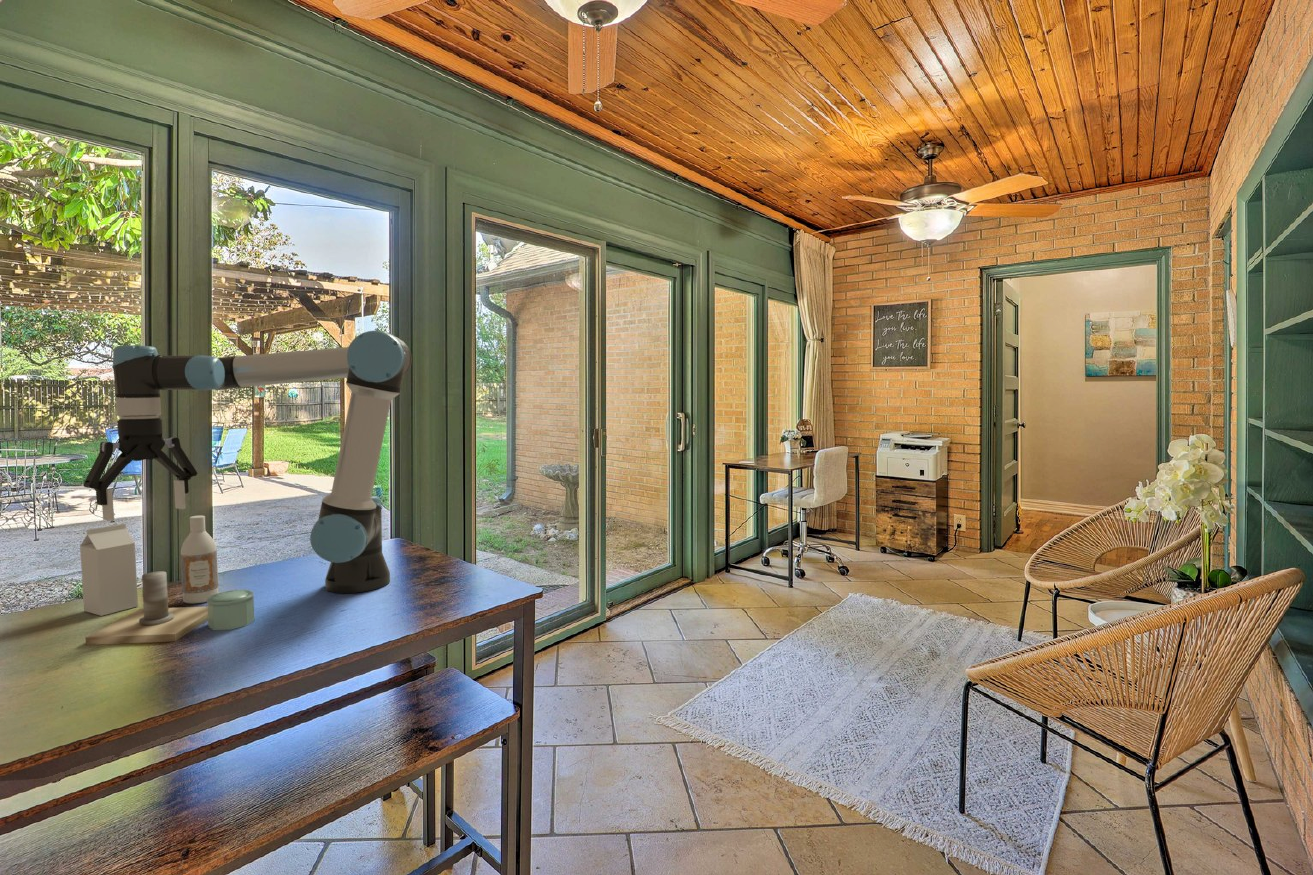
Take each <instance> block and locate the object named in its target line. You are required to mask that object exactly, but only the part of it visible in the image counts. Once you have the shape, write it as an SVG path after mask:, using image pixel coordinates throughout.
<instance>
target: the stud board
mask: <svg viewBox="0 0 1313 875" xmlns="http://www.w3.org/2000/svg"><path fill="white" fill-rule="evenodd" d="M167 577H168V576H167V572H166V571H163V570H162V571H161V570H160V571H159V570H158V571H151V572H147V573H144V574H142V575H141V581H142V583H141V584H142V586H141V587H142V601H143V608H139V609H137V610H135V611H134V612H131V613H130V614H127V615H126V616H124V617H122V618H120V619H118V620H116V621H114V622H113V623H110V624H109V625H106V626H105V627H104V626H103V628H101V629H99V630H97V631H95V632H92V633H91V634H89V635H86V636H85V637H84V639H85V645H86V646H89V645H90V646H91V645H92V646H93V645H95V646H96V645H115V644H136V643H137V644H138V643H139V644H140V643H144V644H145V643H163V642H165V643H167V642H177V641H178V640H179V639H181V638H182V637H184V636H186V635H188V634H189V633H190V632H192V631H194V630H195V629H197V628H198V627H199V626H201V625H203V624H205V623H206V622H208V607H207V606H186V607H183V606H182V607H169V602H168V600H169V599H168V594H169V593H168V578H167Z"/></svg>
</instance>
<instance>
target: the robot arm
mask: <svg viewBox="0 0 1313 875" xmlns="http://www.w3.org/2000/svg"><path fill="white" fill-rule="evenodd" d="M111 366H112V367H111V368H112V369H113V379H114V389H115V408H116V416H117V417H119V419H118V420H117V422H116V424H117V425H116V426H117V435H118V440H117V442H112V441H102V442H100V444H99V453H98V454H97V457H96V459H95V461H94V463H93V464H92V467H91V468H90V471H89V472H88V474H87V476H86V478H85V480H84V482H83V485H82V486H83V488H88V489H93V490H94V491H95V498H96V504H97V505H98V506H102V507H101V508H102V509H101V510H102V518H103V519H102V520H103V521H109V522H111V521H115V512H114V511H115V509H114V496H113V489H112V488H111V489H110V488H108V487H110V486H111V484H113V482H114V481H115V479H117V478H118V476H120V474H121V473H122V472H123V470H124V469H125V468H126V467H127V466H128V465H129V464H130V463H132V462H134V461H135V462H141V461H144V460H145V461H146V460H148V461H152V460H155V461H157V462H158V463H160V465H162V466H163V467H164V468H165V469H166V470H167V471H169V472H170V473H171V474H172V475H173V476H174V477H176V478H177V479H174V480H173V492H174V493H173V494H174V507H175V509H178V510H186V508H187V505H186V504H187V503H186V502H187V501H186V494H189V490H190V488H189V481H190V480H191V478H192V477H196V476H197V475H198V472H197V470H196V469H195V468H196V467H195V466H194V465H193V463H192V462H191V460H190V459H189V457H188V456H187V455H186V453H185V451H184V450H183V448H182V446H181V440H180V439H179V438H178V437H175V436H174V437H171V436H170V437H168V438H163V419H161V417H159V416H162V404H161V390H162V391H168V390H171V391H172V390H173V391H200V392H201V391H211V390H212V391H213V390H216V391H224V390H225V391H226V390H227V391H228V390H229V389H239V388H248V387H259V386H269V385H271V386H272V385H279V384H282V385H283V384H291V383H302V382H303V383H304V382H305V383H306V382H315V381H316V382H317V381H326V380H337V379H346V382H345V384H346V386H347V388H349V390H350V393H351V394H350V400H349V405H348V408H347V414H346V417H345V418H346V419H345V423H344V428H343V432H342V439H341V444H340V449H339V453H338V454H339V455H338V458H337V463H336V468H335V473H334V479H333V482H332V488H331V492H330V493H329V494H327V495H326V496H325V497H324V496H323V498H322V501H321V505H320V510H319V514H318V519H317V521H316V522H315V523H314V525H313V526H312V528H311V531H310V536H309V540H310V541H309V542H310V545H311V548H312V550H313V551H314V553H315V554H316V555H318V557H319V558H321V559H323V560H325V561H326V562H330V564H329V567H328V569H327V572H326V576H325V579H324V583H325V585H324V586H325V590H326V591H328V592H331V593H336V594H354V593H355V594H357V593H362V592H363V593H364V592H370V591H373V590H377V589H380V588H383V587H386V586H387V585H388V584H389V583H390V582H391V572H390V569H389V566H388V563H387V562H386V558H385V556H384V554H383V536H382V535H383V529H382V527H383V526H382V523H383V522H382V509H383V506H382V502H381V498H380V497H379V496H376V495H373V491H374V485H375V482H376V481H375V480H376V476H377V471H378V466H379V461H380V456H381V451H382V448H383V442H384V437H385V431H386V427H387V422H388V417H389V412H390V408H391V403H392V400H393V399H394V398H396V397H397V396H399V395H400V394H401V392H400V391H401V388H402V384H403V379H404V376H405V375H406V374H407V373H408V372H409V370H410V369H411V366H412V353H411V350H410V347H409V346H408V345H407V343H406V342H404V341H403V339H401V338H399V337H398V336H396V335H394V334H392V333H390V332H387V331H385V330H377V329H375V330H369V331H364V332H362V333H360V334H359V335H357V336H355V338H354V339H353V340H351V342H350V344H349V345H348V346H344V347H334V348H333V347H332V348H320V349H309V350H298V351H297V350H296V351H285V352H273V353H260V354H249V355H235V356H225V357H224V356H223V357H220V356H219V357H216V356H213V355H202V354H199V355H198V354H197V355H164V354H163V355H161V354H159V353H158V349H157V348H156V347H155V346H152V345H151V346H150V345H149V346H148V345H131V344H130V345H128V344H127V345H124V344H123V345H117V346H115V347H114V348H113V350H112V365H111ZM164 447H167V448H168V449H169V451H170V453H171V454H172V456H173V457H174V459H175V461H177V463H178V464H176V463H175V462H174V461H173V460H172V459H170V458H169V457H168V455H167V454H166V453H165V452H164V451H163V450H162V449H163V448H164ZM117 449H118V450H119V451H120V452H121V453H120V454H119V455H118V456H117V457H116V460H115V461H114V462H113V464H112V465H111V466H110V467H109V468H108V469H107V470H106V468H107V466H108V464H109V463H110V460H111V458H112V457H113V453H115V452H116V451H117ZM178 465H179V466H180V467H179V466H178ZM104 472H105V473H104Z"/></svg>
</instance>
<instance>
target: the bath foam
mask: <svg viewBox="0 0 1313 875" xmlns="http://www.w3.org/2000/svg"><path fill="white" fill-rule="evenodd" d="M180 548H181V549H180V571H181V573H180V574H181V589H182V591H181V592H182V600H183V602H184V603H186V604H193V605H194V604H201V603H207V599H208V598H209V597H210V596H212V595H215V594H218V593H220V592H219V591H220V590H219V568H218V566H219V565H218V550H217V544H216V542H215V540H214V539H213V537H212V536H211V535H210V534H209V533H208V532H207V530H206V516H205V515H193V516H190V517H189V534H188V535H187V536H186V538H185V539H184V541H183V543H182V545H181V547H180Z"/></svg>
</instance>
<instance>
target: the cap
mask: <svg viewBox="0 0 1313 875" xmlns="http://www.w3.org/2000/svg"><path fill="white" fill-rule="evenodd" d="M254 598H255V597H254V592H253V591H252V590H249V589H233V590H228V591H222V592H221V591H220V592H219V593H218V594H215V595H212V596H210V597H209V598H208V599H207V602H206V603H207V606H206V607H208V620H207V624H208V628H210V629H211V630H212V631H227V630H228V631H230V630H234V629H238V628H241V627H245V626H248V625H250V624H251V623H252V622H253V621H255V603H254V602H255V600H254Z"/></svg>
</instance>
